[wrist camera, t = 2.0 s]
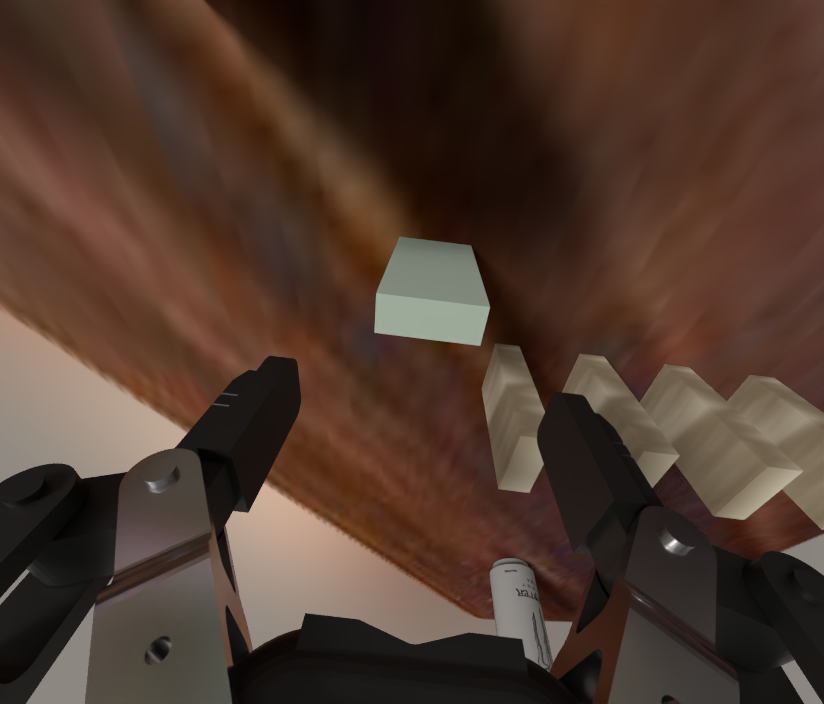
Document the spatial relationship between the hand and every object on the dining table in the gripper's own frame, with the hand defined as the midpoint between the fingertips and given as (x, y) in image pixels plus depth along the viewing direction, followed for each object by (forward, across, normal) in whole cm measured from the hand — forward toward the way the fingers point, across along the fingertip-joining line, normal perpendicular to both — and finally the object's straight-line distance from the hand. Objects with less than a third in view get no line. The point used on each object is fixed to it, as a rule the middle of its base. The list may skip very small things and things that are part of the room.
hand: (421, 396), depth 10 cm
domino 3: (+15, -14, +9) cm, 23 cm away
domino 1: (+15, 0, 0) cm, 15 cm away
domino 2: (+15, -7, +9) cm, 19 cm away
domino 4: (+15, -21, +9) cm, 28 cm away
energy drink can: (+15, -18, +43) cm, 49 cm away
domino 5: (+15, -28, +9) cm, 33 cm away
